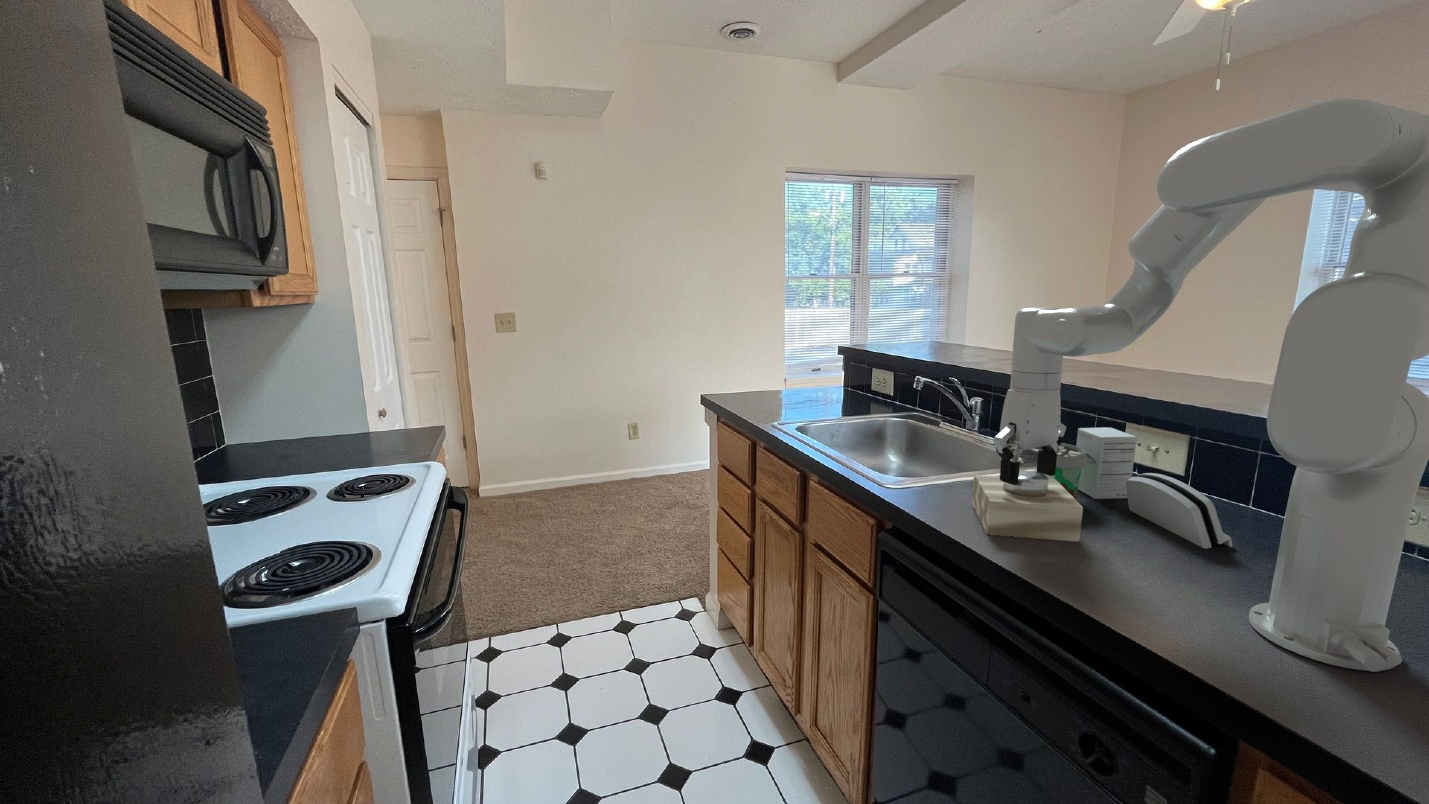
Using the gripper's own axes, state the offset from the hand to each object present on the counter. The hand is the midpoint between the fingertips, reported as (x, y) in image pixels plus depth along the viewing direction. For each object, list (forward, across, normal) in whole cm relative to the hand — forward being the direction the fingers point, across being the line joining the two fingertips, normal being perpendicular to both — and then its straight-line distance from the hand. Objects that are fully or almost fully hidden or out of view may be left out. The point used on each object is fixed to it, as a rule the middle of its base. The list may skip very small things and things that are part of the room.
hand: (1027, 478), depth 105 cm
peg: (+8, 0, 0) cm, 8 cm away
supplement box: (+8, -27, -3) cm, 28 cm away
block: (+8, 0, 0) cm, 8 cm away
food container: (+8, -17, -4) cm, 20 cm away
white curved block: (+9, -20, +13) cm, 26 cm away
